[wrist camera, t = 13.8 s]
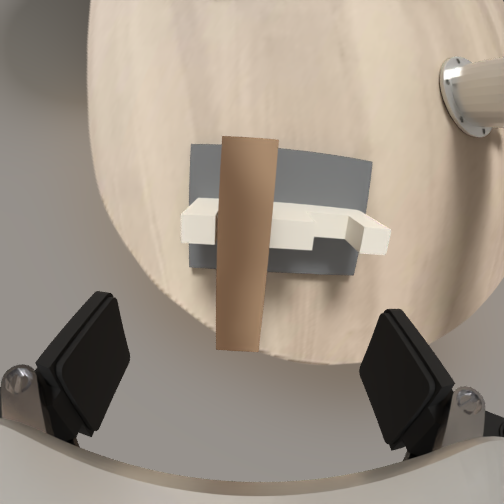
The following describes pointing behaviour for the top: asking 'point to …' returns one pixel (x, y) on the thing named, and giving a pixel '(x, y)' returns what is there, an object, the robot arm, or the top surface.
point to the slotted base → (293, 189)
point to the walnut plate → (243, 239)
